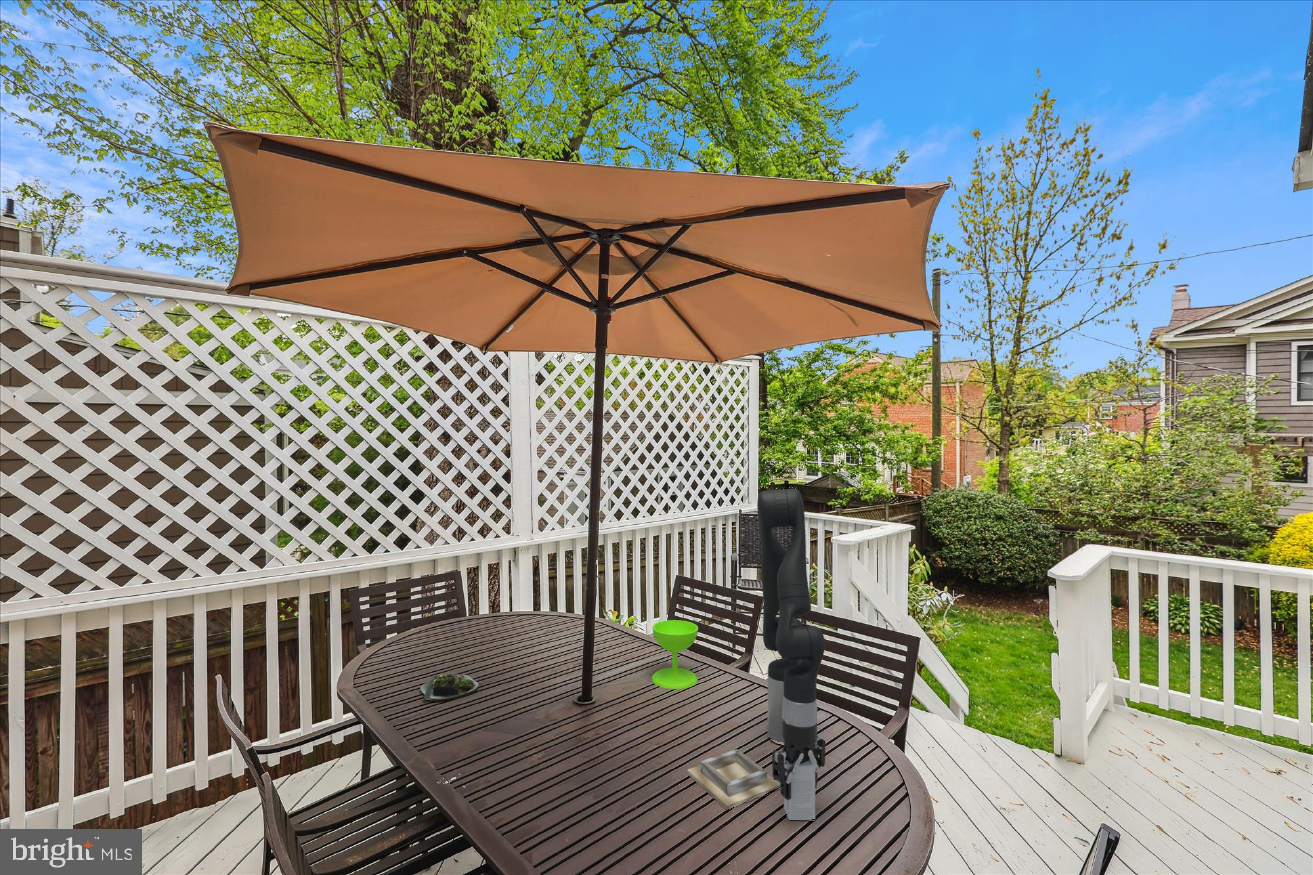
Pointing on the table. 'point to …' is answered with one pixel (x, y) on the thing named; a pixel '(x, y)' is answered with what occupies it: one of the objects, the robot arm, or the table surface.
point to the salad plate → (448, 688)
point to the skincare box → (801, 793)
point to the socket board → (732, 778)
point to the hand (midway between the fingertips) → (799, 792)
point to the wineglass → (675, 652)
